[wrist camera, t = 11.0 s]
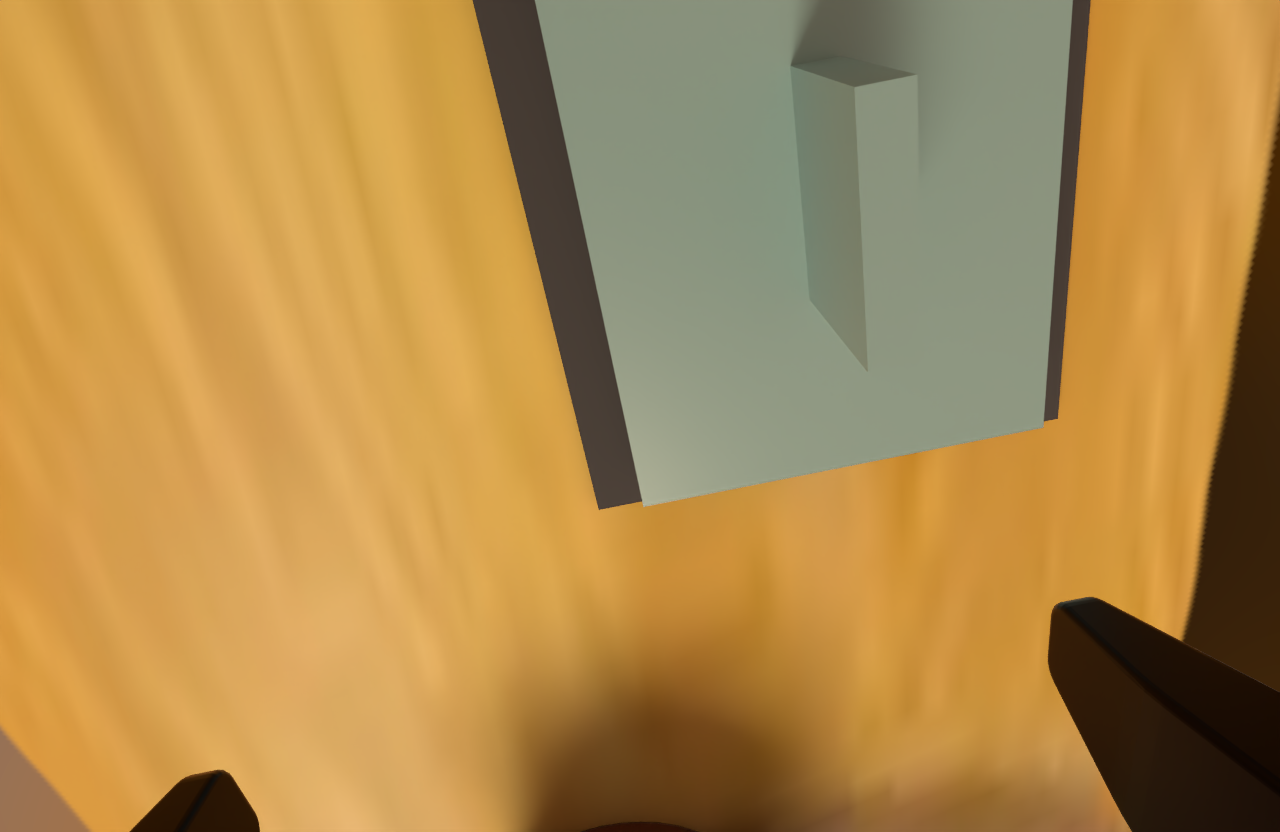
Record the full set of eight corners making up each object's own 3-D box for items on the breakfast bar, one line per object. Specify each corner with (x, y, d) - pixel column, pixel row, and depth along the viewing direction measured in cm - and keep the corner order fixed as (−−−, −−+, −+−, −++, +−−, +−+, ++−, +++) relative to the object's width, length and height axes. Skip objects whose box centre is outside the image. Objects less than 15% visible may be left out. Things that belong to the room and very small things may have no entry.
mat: (1049, 412, 23) (1057, 418, 22) (598, 501, 23) (598, 509, 23) (1103, -322, 15) (1116, -330, 15) (428, -184, 15) (426, -188, 15)
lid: (1012, 399, 22) (1142, 517, 17) (638, 474, 22) (660, 612, 17) (1044, -268, 15) (1275, -392, 10) (503, -157, 15) (476, -228, 10)
